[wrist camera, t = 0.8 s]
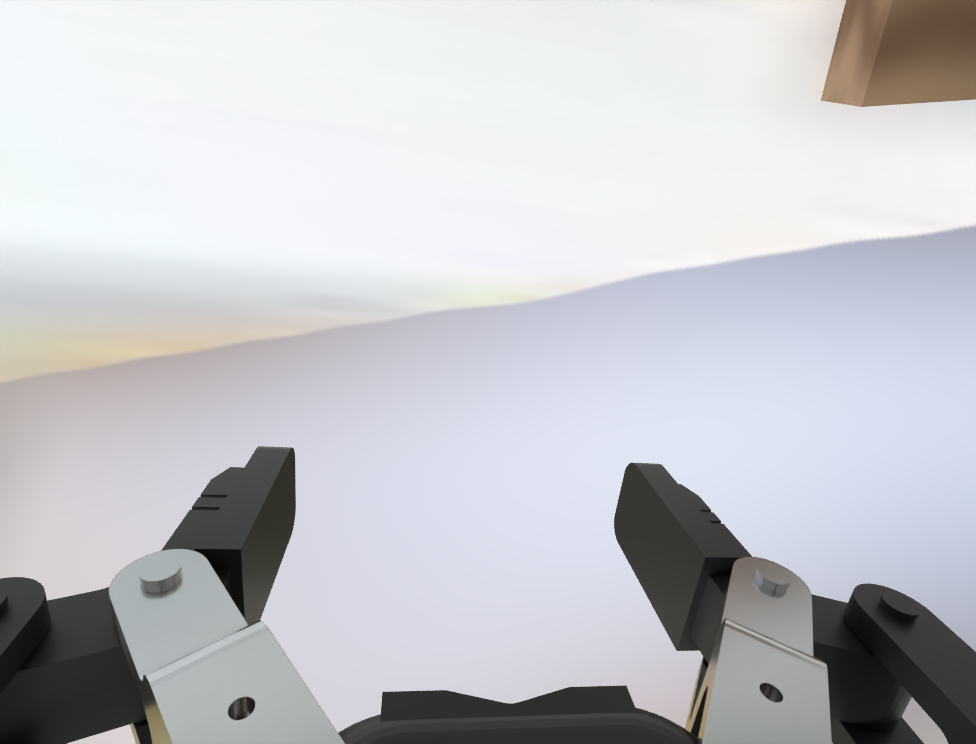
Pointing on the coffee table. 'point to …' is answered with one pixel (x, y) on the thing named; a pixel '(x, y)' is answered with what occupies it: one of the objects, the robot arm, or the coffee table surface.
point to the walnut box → (903, 53)
